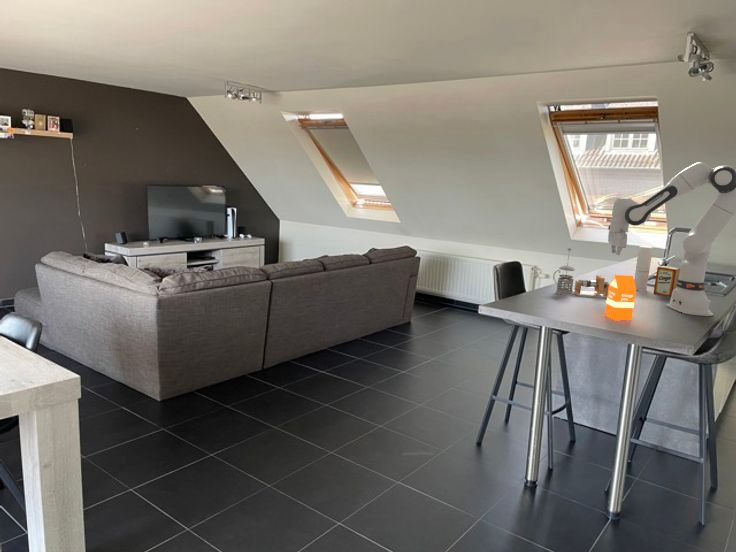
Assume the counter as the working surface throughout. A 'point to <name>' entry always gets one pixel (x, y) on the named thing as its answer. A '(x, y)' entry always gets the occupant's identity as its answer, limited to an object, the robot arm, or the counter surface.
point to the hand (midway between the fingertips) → (615, 254)
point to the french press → (565, 281)
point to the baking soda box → (666, 280)
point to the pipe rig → (590, 284)
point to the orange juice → (621, 298)
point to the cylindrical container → (643, 267)
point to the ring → (600, 284)
